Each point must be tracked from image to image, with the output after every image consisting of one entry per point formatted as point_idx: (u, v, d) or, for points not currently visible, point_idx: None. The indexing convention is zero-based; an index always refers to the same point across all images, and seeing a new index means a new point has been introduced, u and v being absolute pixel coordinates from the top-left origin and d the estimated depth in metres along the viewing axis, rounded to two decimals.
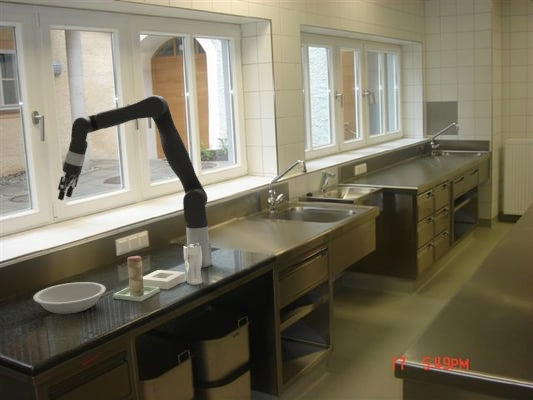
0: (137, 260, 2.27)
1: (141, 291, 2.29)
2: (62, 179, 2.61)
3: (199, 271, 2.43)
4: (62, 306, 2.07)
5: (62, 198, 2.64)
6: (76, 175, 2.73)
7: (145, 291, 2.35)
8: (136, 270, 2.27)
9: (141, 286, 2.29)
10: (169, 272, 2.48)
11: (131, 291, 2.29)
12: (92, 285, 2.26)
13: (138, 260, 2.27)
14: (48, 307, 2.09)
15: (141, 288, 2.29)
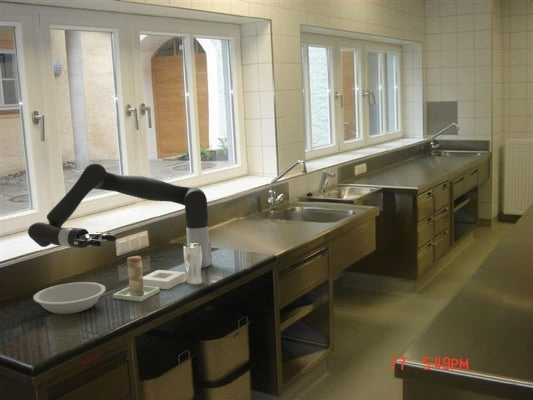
0: (137, 260, 2.27)
1: (141, 291, 2.29)
2: (75, 243, 2.30)
3: (199, 271, 2.43)
4: (62, 306, 2.07)
5: (97, 241, 2.29)
6: None
7: (145, 291, 2.35)
8: (136, 270, 2.27)
9: (141, 286, 2.29)
10: (169, 272, 2.48)
11: (131, 291, 2.29)
12: (92, 285, 2.26)
13: (138, 260, 2.27)
14: (48, 307, 2.09)
15: (141, 288, 2.29)
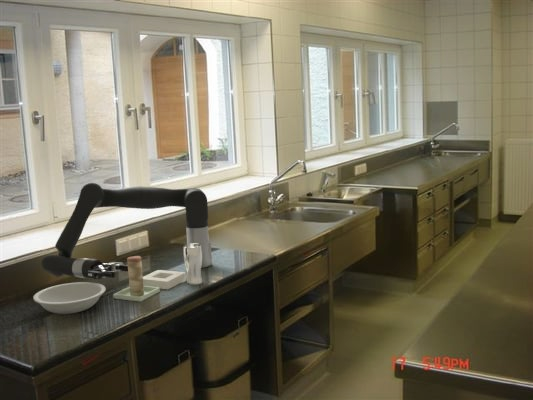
0: (137, 260, 2.27)
1: (141, 291, 2.29)
2: (90, 275, 2.30)
3: (199, 271, 2.43)
4: (62, 306, 2.07)
5: (111, 272, 2.28)
6: (110, 264, 2.41)
7: (145, 291, 2.35)
8: (136, 270, 2.27)
9: (141, 286, 2.29)
10: (169, 272, 2.48)
11: (131, 291, 2.29)
12: (92, 285, 2.26)
13: (138, 260, 2.27)
14: (48, 307, 2.09)
15: (141, 288, 2.29)
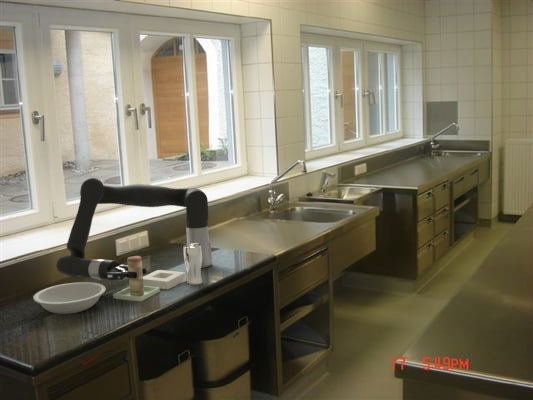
0: (137, 260, 2.27)
1: (141, 291, 2.29)
2: (110, 277, 2.26)
3: (199, 271, 2.43)
4: (62, 306, 2.07)
5: (134, 273, 2.26)
6: None
7: (145, 291, 2.35)
8: (136, 270, 2.27)
9: (141, 286, 2.29)
10: (169, 272, 2.48)
11: (131, 291, 2.29)
12: (92, 285, 2.26)
13: (138, 260, 2.27)
14: (48, 307, 2.09)
15: (141, 288, 2.29)
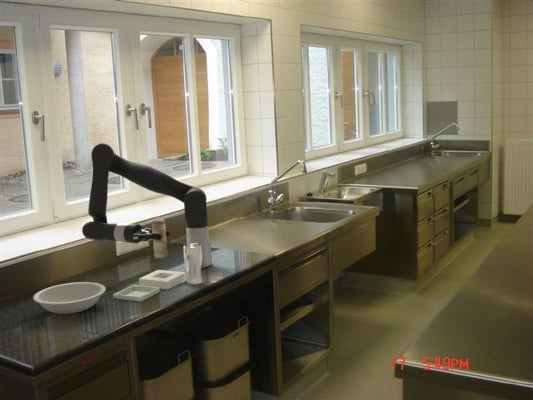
0: (161, 222, 2.38)
1: (165, 252, 2.40)
2: (136, 238, 2.37)
3: (199, 271, 2.43)
4: (62, 306, 2.07)
5: (158, 234, 2.37)
6: None
7: (145, 291, 2.35)
8: (160, 232, 2.38)
9: (165, 248, 2.40)
10: (169, 272, 2.48)
11: (155, 252, 2.40)
12: (92, 285, 2.26)
13: (162, 223, 2.38)
14: (48, 307, 2.09)
15: (165, 250, 2.40)
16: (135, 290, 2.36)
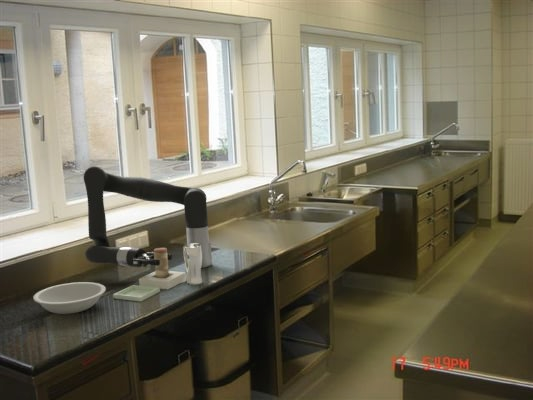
0: (163, 251, 2.41)
1: None
2: (135, 263, 2.40)
3: (199, 271, 2.43)
4: (62, 306, 2.07)
5: (156, 260, 2.38)
6: (152, 253, 2.51)
7: (145, 291, 2.35)
8: (162, 261, 2.41)
9: (167, 276, 2.43)
10: (169, 272, 2.48)
11: None
12: (92, 285, 2.26)
13: (164, 251, 2.41)
14: (48, 307, 2.09)
15: None
16: (135, 290, 2.36)
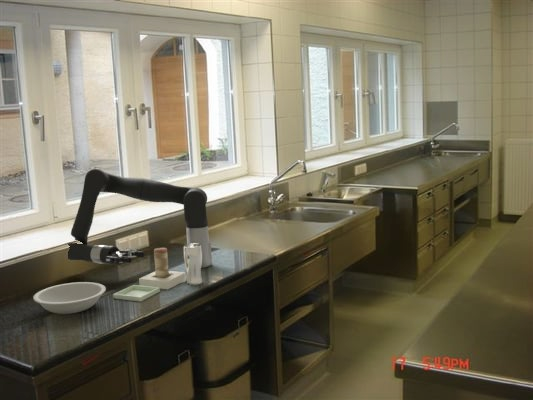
0: (163, 251, 2.41)
1: None
2: (108, 260, 2.45)
3: (199, 271, 2.43)
4: (62, 306, 2.07)
5: (128, 257, 2.44)
6: None
7: (145, 291, 2.35)
8: (162, 261, 2.41)
9: (167, 276, 2.43)
10: (169, 272, 2.48)
11: None
12: (92, 285, 2.26)
13: (164, 251, 2.41)
14: (48, 307, 2.09)
15: None
16: (135, 290, 2.36)
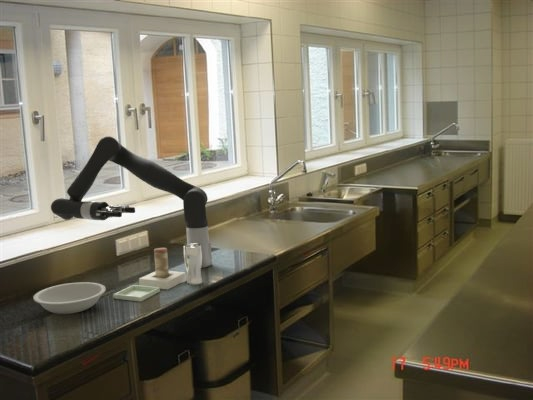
0: (163, 251, 2.41)
1: None
2: (98, 215, 2.44)
3: (199, 271, 2.43)
4: (62, 306, 2.07)
5: (118, 212, 2.42)
6: None
7: (145, 291, 2.35)
8: (162, 261, 2.41)
9: (167, 276, 2.43)
10: (169, 272, 2.48)
11: None
12: (92, 285, 2.26)
13: (164, 251, 2.41)
14: (48, 307, 2.09)
15: None
16: (135, 290, 2.36)
